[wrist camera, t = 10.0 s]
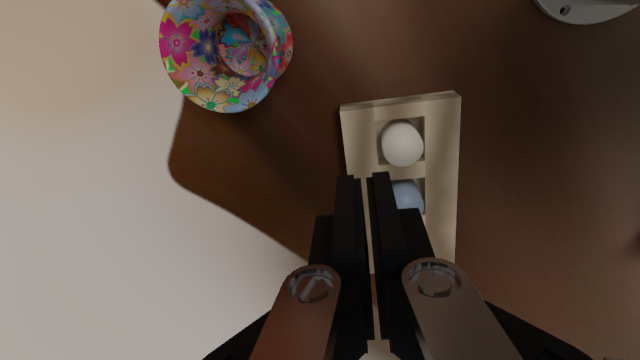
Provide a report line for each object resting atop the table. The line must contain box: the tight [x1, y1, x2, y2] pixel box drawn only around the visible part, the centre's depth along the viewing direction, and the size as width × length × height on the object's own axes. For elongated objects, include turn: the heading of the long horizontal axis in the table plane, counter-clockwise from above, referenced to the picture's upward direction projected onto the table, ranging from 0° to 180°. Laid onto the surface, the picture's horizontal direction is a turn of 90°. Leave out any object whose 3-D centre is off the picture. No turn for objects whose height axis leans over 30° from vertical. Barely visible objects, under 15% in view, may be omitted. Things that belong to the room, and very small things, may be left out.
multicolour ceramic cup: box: [159, 0, 293, 113], centre depth 29 cm, size 12×9×11 cm
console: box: [340, 90, 461, 273], centre depth 39 cm, size 12×22×3 cm, turn 8°
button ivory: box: [380, 119, 424, 167], centre depth 35 cm, size 4×4×4 cm
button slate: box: [391, 179, 424, 214], centre depth 38 cm, size 4×4×4 cm
